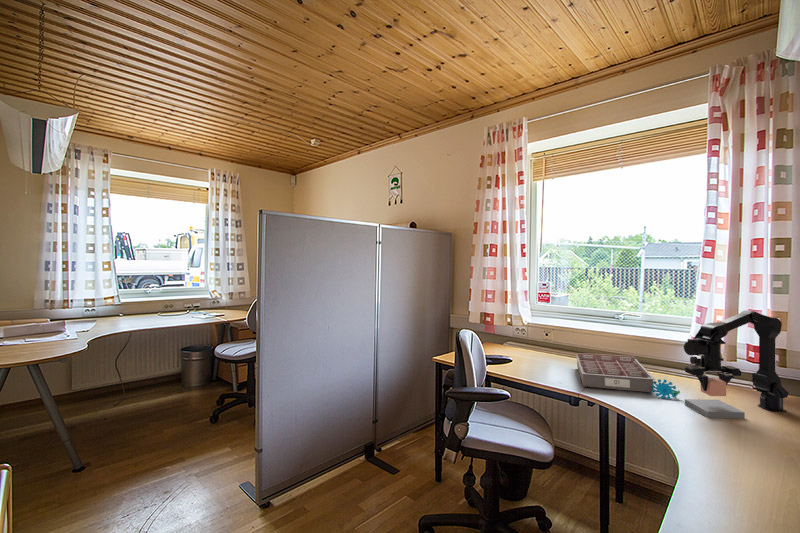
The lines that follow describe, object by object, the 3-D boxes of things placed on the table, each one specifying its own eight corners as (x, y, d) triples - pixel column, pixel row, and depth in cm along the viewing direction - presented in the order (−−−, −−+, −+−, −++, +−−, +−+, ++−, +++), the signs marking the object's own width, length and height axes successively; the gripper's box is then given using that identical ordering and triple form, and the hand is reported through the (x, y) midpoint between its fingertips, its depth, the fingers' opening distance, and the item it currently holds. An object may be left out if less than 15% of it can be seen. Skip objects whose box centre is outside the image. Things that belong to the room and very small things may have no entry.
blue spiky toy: (649, 393, 174) (653, 375, 179) (649, 399, 178) (652, 381, 183) (678, 401, 168) (681, 382, 172) (677, 407, 171) (680, 388, 176)
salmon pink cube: (715, 391, 159) (715, 377, 159) (726, 396, 153) (725, 381, 153) (700, 391, 160) (700, 377, 160) (710, 396, 154) (710, 381, 154)
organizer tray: (581, 389, 188) (581, 369, 188) (575, 368, 225) (575, 352, 225) (655, 396, 176) (655, 375, 176) (636, 372, 213) (636, 355, 213)
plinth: (718, 405, 163) (718, 399, 163) (744, 418, 149) (744, 412, 149) (684, 404, 164) (684, 399, 164) (707, 417, 150) (707, 411, 150)
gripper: (721, 349, 163) (722, 384, 164) (676, 350, 166) (677, 384, 166) (741, 356, 152) (742, 393, 152) (693, 356, 154) (694, 393, 155)
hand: (713, 390), depth 157 cm, fingers closed on salmon pink cube, 6 cm apart
